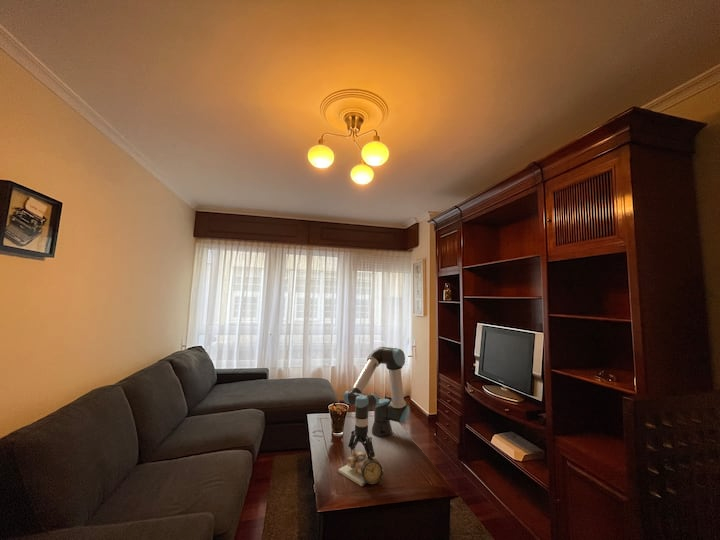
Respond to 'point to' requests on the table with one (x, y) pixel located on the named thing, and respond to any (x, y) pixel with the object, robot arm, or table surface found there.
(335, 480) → the table surface
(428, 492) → the table surface
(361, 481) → the post board
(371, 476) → the alarm clock
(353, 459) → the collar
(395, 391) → the robot arm
